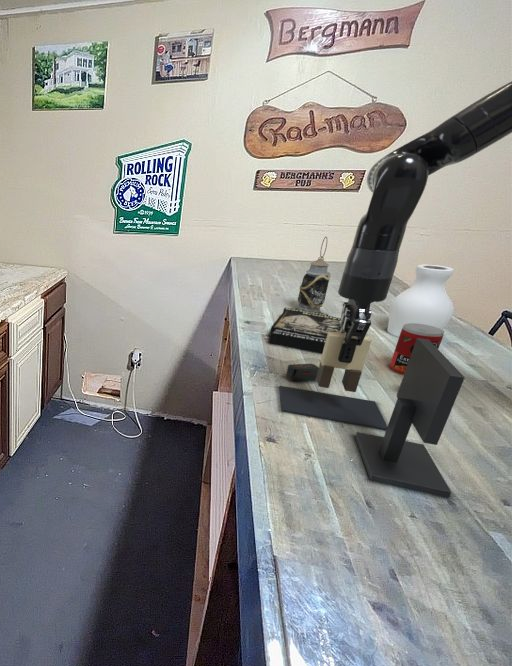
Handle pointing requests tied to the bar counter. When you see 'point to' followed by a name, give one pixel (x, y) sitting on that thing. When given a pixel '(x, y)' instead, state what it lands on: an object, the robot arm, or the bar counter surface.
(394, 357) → the canned food
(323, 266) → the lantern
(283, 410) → the mat
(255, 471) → the bar counter surface
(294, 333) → the decorative sign
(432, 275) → the vase
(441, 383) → the monitor
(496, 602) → the bar counter surface
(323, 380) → the small wooden bench
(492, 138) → the robot arm
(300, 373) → the wireless earbuds
